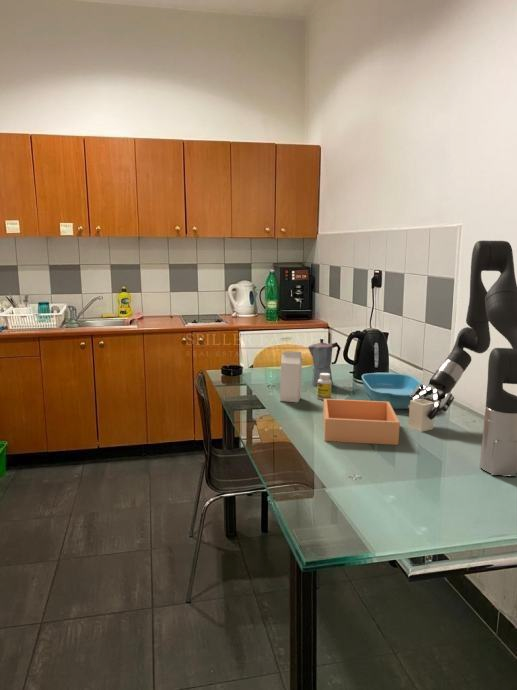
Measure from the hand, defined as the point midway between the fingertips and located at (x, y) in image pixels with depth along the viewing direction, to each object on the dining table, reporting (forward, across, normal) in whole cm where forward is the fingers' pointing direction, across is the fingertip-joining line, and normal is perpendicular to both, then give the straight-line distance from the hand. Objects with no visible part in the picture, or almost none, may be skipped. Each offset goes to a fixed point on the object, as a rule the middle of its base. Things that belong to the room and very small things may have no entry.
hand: (419, 414), depth 175 cm
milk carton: (+18, -46, -11) cm, 51 cm away
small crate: (+3, 0, +4) cm, 5 cm away
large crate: (+17, -7, -10) cm, 21 cm away
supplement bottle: (+9, -42, -1) cm, 43 cm away
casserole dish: (-8, -30, +16) cm, 35 cm away
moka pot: (0, -60, +7) cm, 60 cm away
